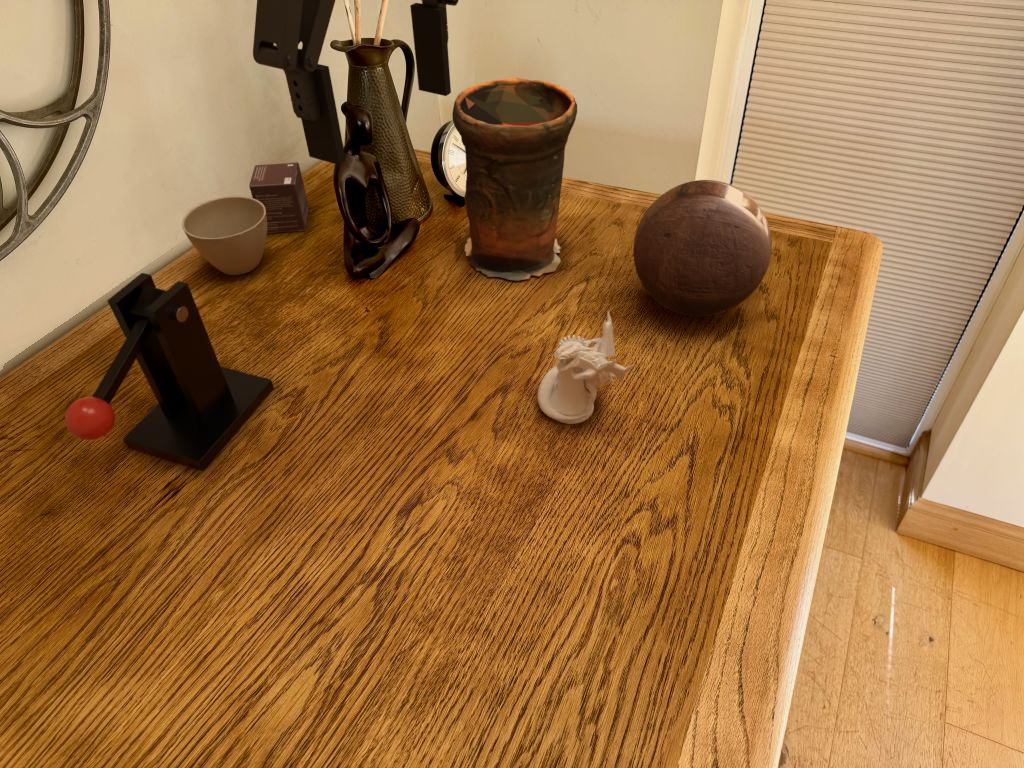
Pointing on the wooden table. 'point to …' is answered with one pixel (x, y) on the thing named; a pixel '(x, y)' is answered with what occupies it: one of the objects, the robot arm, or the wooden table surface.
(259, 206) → the flower pot
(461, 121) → the vessel
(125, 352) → the switch
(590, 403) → the figurine
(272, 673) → the wooden table surface
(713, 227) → the wooden sphere
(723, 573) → the wooden table surface
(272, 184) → the box
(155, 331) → the lever base
